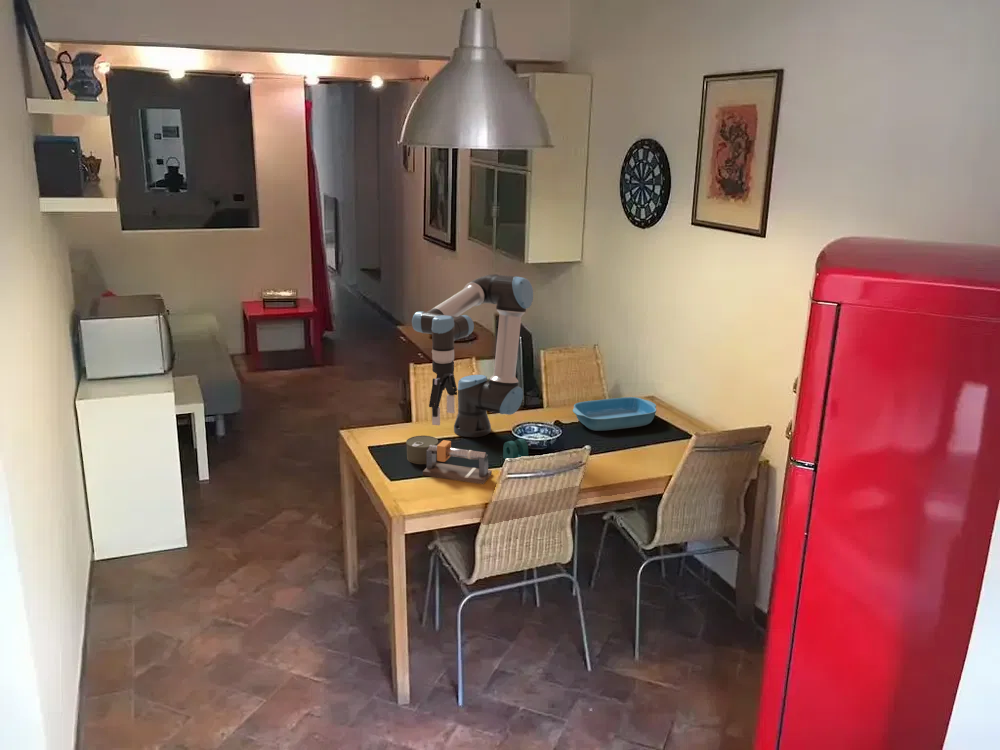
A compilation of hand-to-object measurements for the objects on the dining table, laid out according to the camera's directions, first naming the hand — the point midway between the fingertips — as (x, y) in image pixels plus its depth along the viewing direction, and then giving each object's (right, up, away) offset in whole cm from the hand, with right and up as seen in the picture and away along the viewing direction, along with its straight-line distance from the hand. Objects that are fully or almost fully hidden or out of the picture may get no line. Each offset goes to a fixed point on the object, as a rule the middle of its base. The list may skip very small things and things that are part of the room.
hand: (443, 418), depth 292 cm
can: (-9, -16, +19) cm, 27 cm away
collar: (0, -14, +5) cm, 15 cm away
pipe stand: (+5, -20, +5) cm, 21 cm away
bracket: (+29, -18, +14) cm, 37 cm away
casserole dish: (+68, -5, +59) cm, 90 cm away
